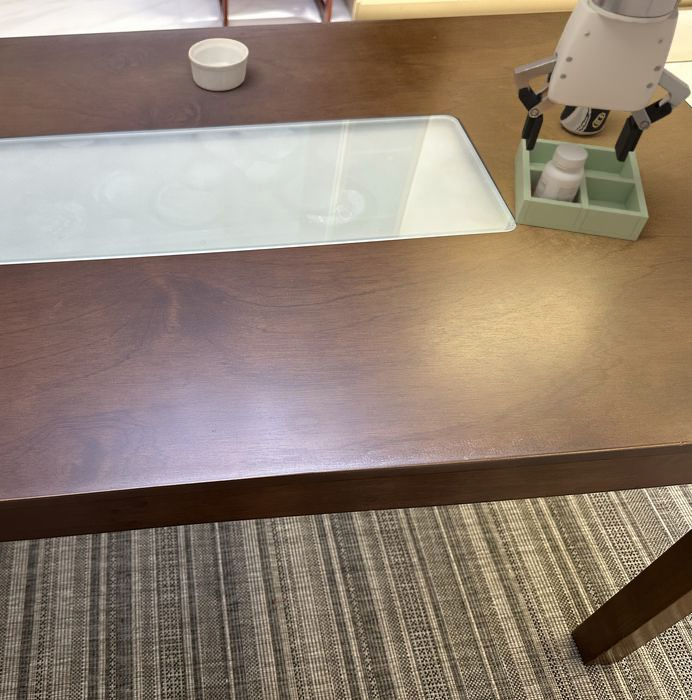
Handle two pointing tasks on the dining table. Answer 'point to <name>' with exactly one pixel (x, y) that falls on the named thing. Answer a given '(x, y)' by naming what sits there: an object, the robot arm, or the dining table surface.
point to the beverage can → (583, 119)
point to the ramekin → (218, 63)
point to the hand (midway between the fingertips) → (573, 149)
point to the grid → (583, 193)
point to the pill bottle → (562, 174)
